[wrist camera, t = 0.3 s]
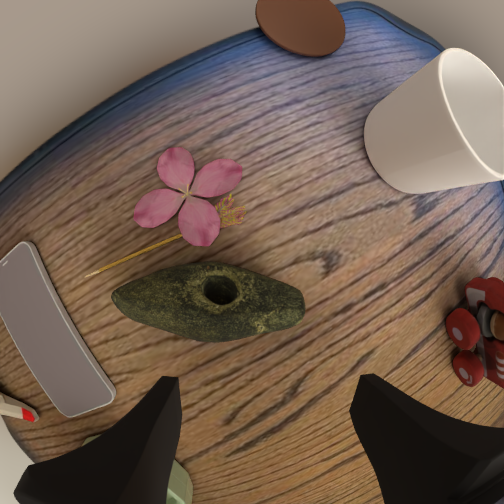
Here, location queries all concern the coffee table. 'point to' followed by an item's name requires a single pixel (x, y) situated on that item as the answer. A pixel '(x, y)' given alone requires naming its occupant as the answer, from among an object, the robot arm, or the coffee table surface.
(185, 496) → the bowl
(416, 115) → the mug
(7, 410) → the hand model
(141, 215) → the flower
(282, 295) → the decorative stone
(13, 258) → the smartphone
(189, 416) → the coffee table surface
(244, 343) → the coffee table surface
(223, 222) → the decorative arrow
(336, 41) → the brown round coaster
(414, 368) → the coffee table surface
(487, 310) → the toy fire truck
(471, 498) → the robot arm
